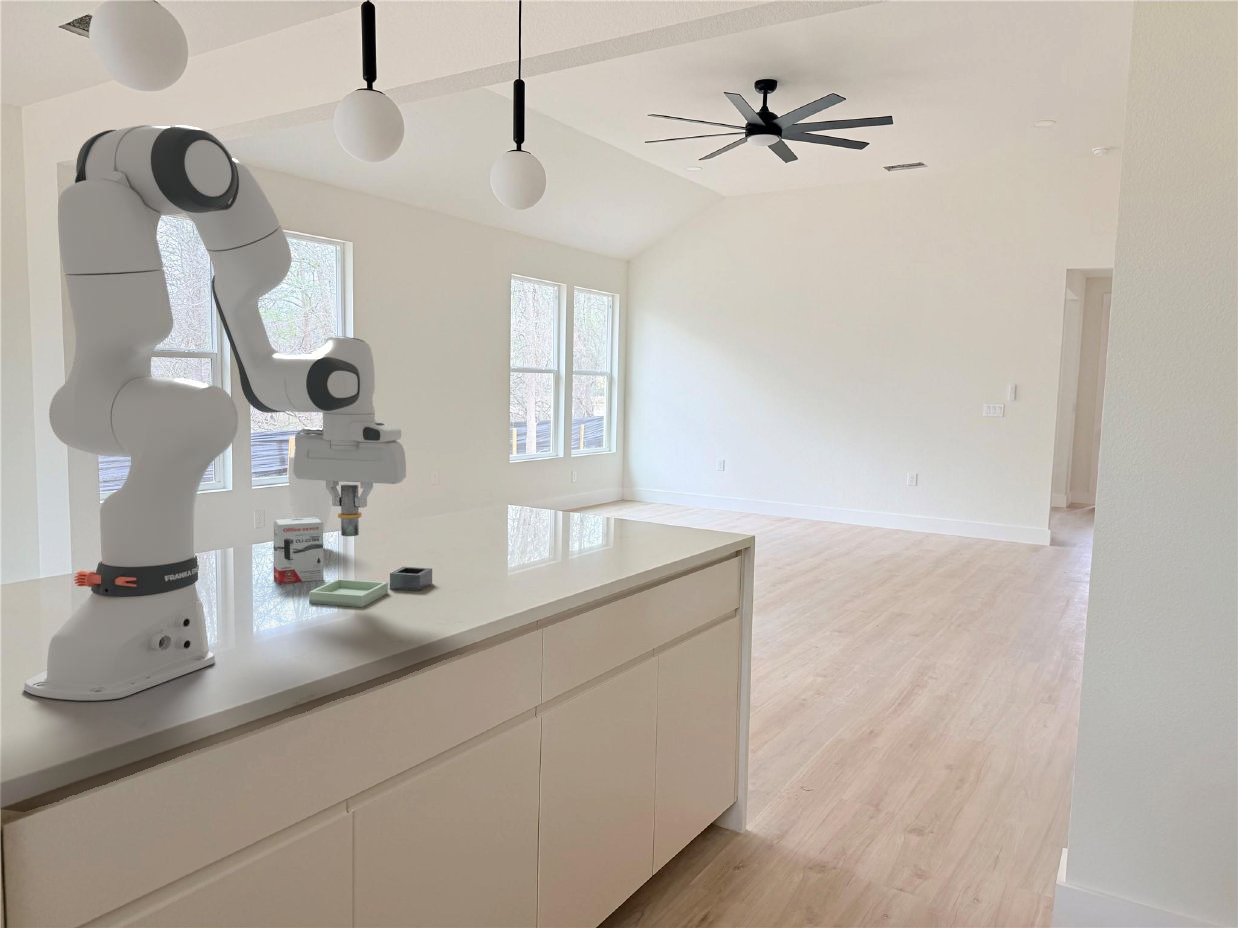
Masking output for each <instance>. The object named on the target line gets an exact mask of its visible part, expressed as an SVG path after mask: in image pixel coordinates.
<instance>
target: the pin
mask: <svg viewBox="0 0 1238 928" xmlns="http://www.w3.org/2000/svg"><path fill="white" fill-rule="evenodd" d="M340 495H341V506H340V512H338V513H337V517H338V518H339V519H340V527H341V528H340V529H341V531H340V533H341V534H340V535H341V537H355V536H359V534H360V530H359V529H360V527H359V525H360V521H359V520H360V518H362V517H363V516H362V515H363V514H362V512H361V511H359V508H360V507H355V503H356V502H355V498H356V497H359V484H357V483H356V484H355V483H347V484H345V483H344V484H340Z"/></svg>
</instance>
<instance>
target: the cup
mask: <svg viewBox="0 0 1238 928" xmlns="http://www.w3.org/2000/svg"><path fill="white" fill-rule="evenodd" d="M294 456H295V454H291V455H290V456H289V457H288V460H289V461H288V489H289V501H290V504H291V505H290V506H291V509H292V513H293V519H297V518H312V517H316V518H318V519H320V520H321V521H322V522H323V534H324V532H325V530H326V527H327V524H328V523H329V520H330V516H331V512H332V506H333V505H332V496H331V495H330V493H329V491H328V490H327V488H326V481H323V480H303V479H297V478H296V476H295V475H294V473H293V465H294Z"/></svg>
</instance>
